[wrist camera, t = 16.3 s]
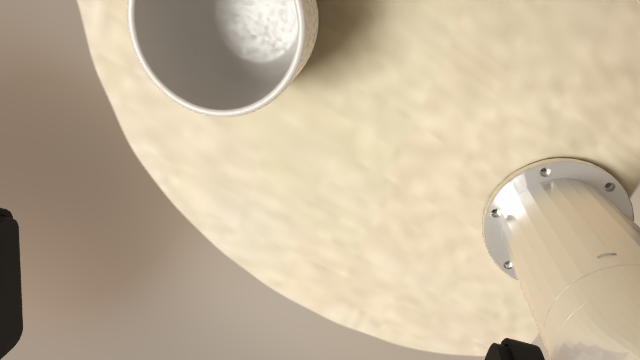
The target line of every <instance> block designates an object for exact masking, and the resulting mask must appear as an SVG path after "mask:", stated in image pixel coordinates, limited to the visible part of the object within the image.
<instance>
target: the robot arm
mask: <svg viewBox="0 0 640 360" xmlns="http://www.w3.org/2000/svg"><path fill="white" fill-rule="evenodd" d="M543 168H546V169H545V171H541V169H543ZM607 183H609V184H608V185H607V186H605V185H606V184H607ZM494 209H497V210H496V211H492V210H494ZM482 230H483V237H484V241H485V244H486V247H487V249H488V252H489V254H490V256H491V257H492V259H493V260H494V262H495V263H496V264H497V266H498V267H499V268H500V269H501V270H502V271H504V272H505V273H506V274H508V275H509V276H511V277H512V278H514V279H516V280H518V281H519V283H520V285H521V288H522V290H523V293H524V295H525V298H526V300H527V303H528V305H529V308H530V310H531V313H532V315H533V317H534V320H535V322H536V325H537V327H538V330H539V332H540V335H541V337H542V340H543V342H544V344H545V347H546V349H547V352H548V354H549V356H550V358H551V360H640V228H639V227H638V226H637V225H636V224H635V223H634V214H633V208H632V203H631V201H630V199H629V196H628V194H627V192H626V191H625V189H624V188H623V187H622V185H621V184H620V183H619V182H618V181H617V180H616V179H615V178H614V177H613V176H612V175H611V174H609V173H608V172H606V171H605V170H604V169H602V168H601V167H599V166H596V165H594V164H592V163H589V162H586V161H582V160H578V159H571V158H554V159H546V160H542V161H538V162H535V163H532V164H529V165H527V166H525V167H523V168H521V169H519V170H517V171H516V172H514V173H513V174H511V175H510V176H508V177H507V178H506V179H505V180H504V181H503V182H502V183H501V184H500V185H499V186H498V187H497V188H496V189H495V191H494V192H493V194H492V195H491V197H490V198H489V200H488V203H487V205H486V208H485V210H484V215H483V221H482ZM19 249H20V248H19V227H18V223H17V221H16V220H14V219H13V216H12V214H11V212H10V211H8V210H7V209H3V208H0V359H1V358H3V356H5V355H6V354H7V353H8V352H9V351H10V350H11V349H12V348H13V347H14V346H15V345H16V344H17V342H18V341H19V339H20V337H21V334H22V331H23V318H22V297H21V296H22V294H21V271H20V250H19ZM507 261H508V262H507ZM485 360H545V359H544V356H543V354H542V352H541V350H540V348H539V347H538V346H536V345H532V344H528V343H524V342H521V341H517V340H513V339H509V338H506V339H504V340H503V341H502V342H501V344H496V343H493V344H492V345H491V346H490V348H489V350H488V353H487V355H486V357H485Z"/></svg>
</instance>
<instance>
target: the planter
mask: <svg viewBox="0 0 640 360" xmlns="http://www.w3.org/2000/svg"><path fill="white" fill-rule="evenodd" d="M127 21H128V29H129V34H130V39H131V42H132V45H133V48H134V51H135V53H136V56H137V58H138V60H139V62H140V64H141V66H142V67H143V69H144V71H145V72H146V74H147V75H148V77H149V78H150V79H151V80H152V82H153V83H154V84H155V85H156V86H157V87H158V88H159V89H160V90H161V91H162V92H163V93H164V94H165V95H166V96H168V97H169V98H170V99H172V100H173V101H174V102H176V103H178V104H179V105H181V106H183V107H185V108H187V109H189V110H191V111H194V112H196V113H199V114H203V115H207V116H214V117H235V116H241V115H245V114H248V113H251V112H254V111H256V110H258V109H260V108H262V107H264V106H266V105H267V104H269V103H270V102H272V101H273V100H274V99H275V98H276V97H278V96H279V95H280V94H281V93H282V92H283V90H284V89H285V88H286V87H287V86H288V85H289V84H290V83H291V82H292V81H293V80H294V79H295V77H296V76H297V75H298V74H299V73H300V71H301V70H302V69H303V67H304V66H305V64H306V63H307V61H308V59H309V57H310V55H311V53H312V51H313V48H314V45H315V42H316V38H317V33H318V8H317V2H316V0H128V2H127Z"/></svg>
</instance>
